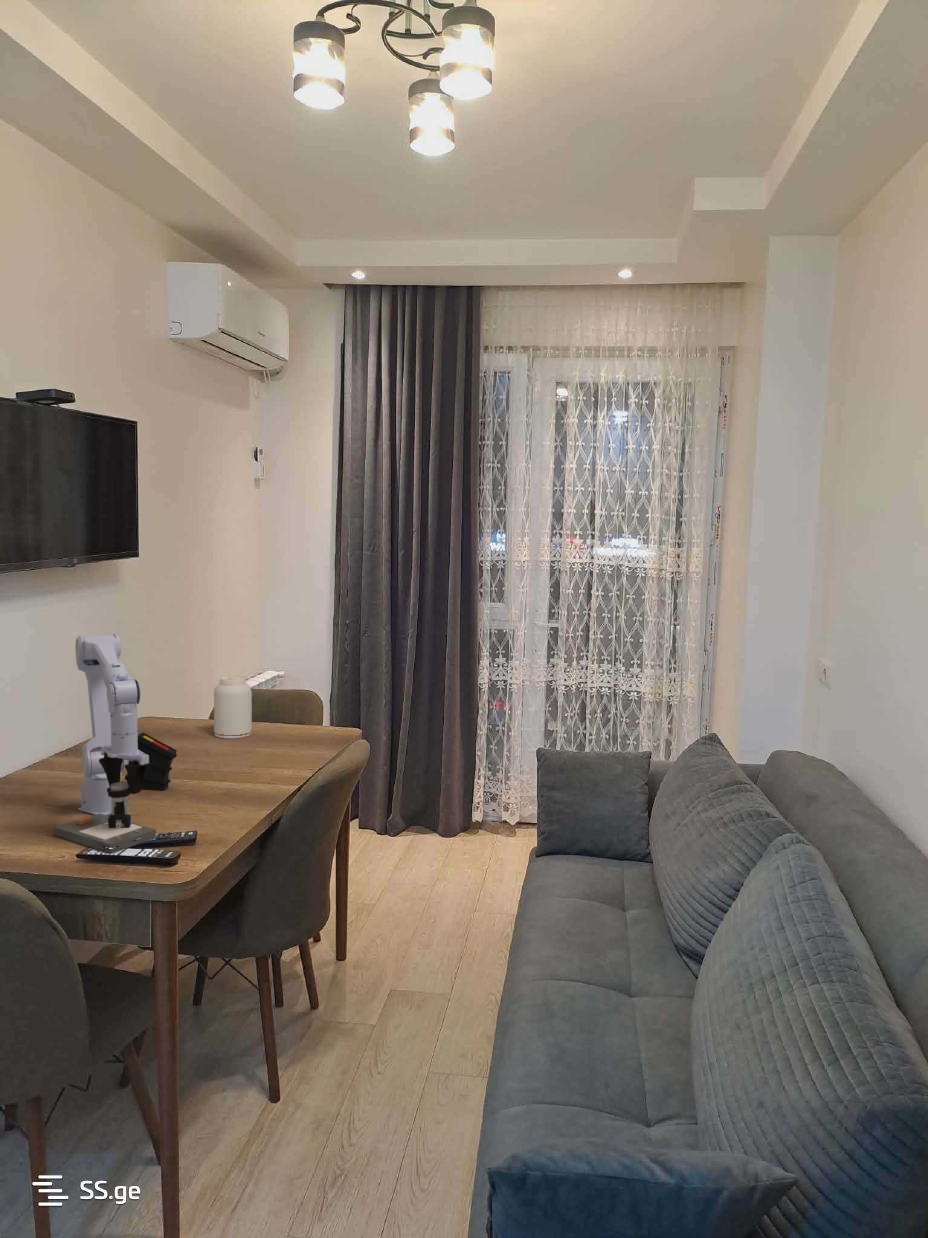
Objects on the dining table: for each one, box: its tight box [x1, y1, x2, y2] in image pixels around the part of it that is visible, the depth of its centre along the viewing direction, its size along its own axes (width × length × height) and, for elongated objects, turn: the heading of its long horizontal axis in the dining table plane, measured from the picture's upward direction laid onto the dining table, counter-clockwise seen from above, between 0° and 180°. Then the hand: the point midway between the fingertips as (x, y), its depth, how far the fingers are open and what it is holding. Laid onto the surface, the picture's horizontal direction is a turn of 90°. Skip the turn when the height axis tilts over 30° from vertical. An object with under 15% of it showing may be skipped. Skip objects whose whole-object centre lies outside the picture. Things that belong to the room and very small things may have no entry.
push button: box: [101, 781, 132, 828], centre depth 203 cm, size 7×5×10 cm
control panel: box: [53, 813, 157, 854], centre depth 203 cm, size 20×12×3 cm, turn 59°
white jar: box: [213, 675, 253, 740], centre depth 303 cm, size 12×12×20 cm
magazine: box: [124, 732, 178, 791], centre depth 240 cm, size 4×13×15 cm, turn 84°
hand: (125, 790), depth 205 cm, fingers open, 7 cm apart
